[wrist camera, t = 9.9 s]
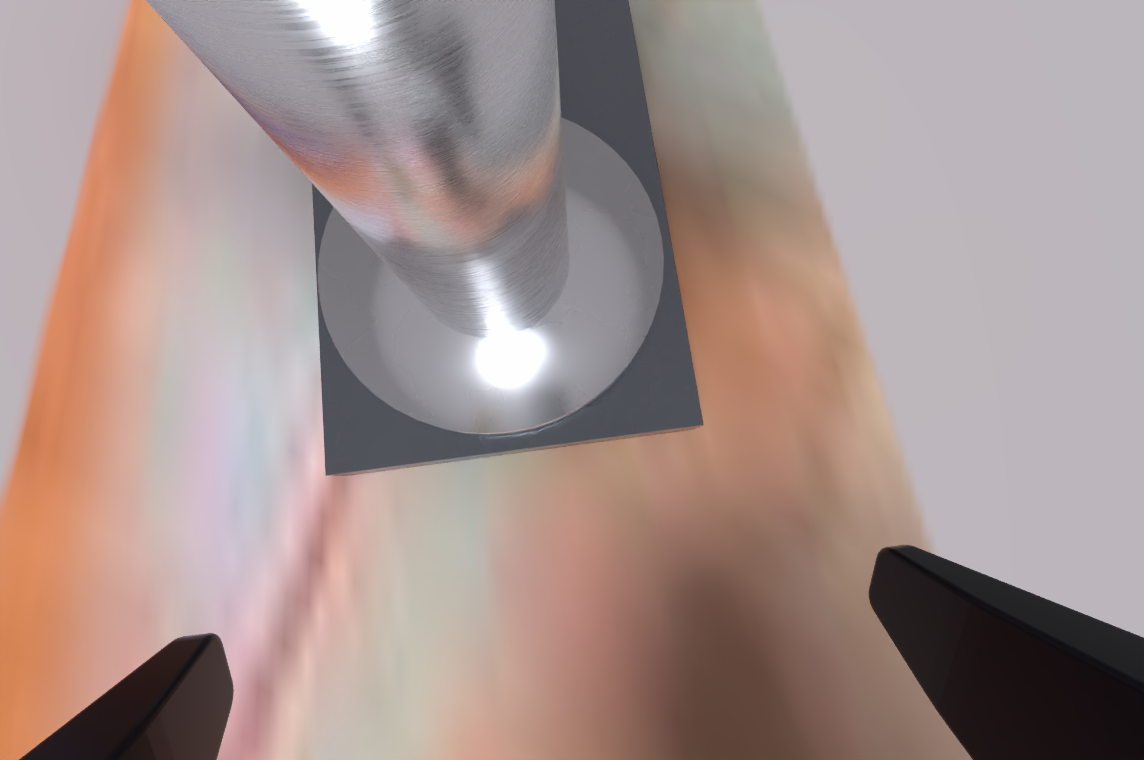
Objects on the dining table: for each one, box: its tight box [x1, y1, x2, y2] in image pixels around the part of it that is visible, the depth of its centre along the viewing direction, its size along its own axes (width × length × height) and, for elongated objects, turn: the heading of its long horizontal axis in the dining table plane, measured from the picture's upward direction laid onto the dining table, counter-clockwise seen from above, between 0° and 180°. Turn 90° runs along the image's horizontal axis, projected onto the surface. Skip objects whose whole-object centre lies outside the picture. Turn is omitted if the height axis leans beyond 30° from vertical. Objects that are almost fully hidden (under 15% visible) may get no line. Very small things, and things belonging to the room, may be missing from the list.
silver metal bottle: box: [146, 0, 569, 338], centre depth 10 cm, size 5×5×14 cm
